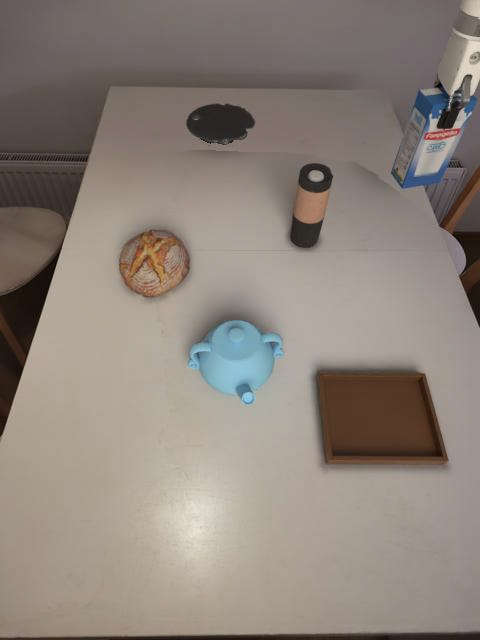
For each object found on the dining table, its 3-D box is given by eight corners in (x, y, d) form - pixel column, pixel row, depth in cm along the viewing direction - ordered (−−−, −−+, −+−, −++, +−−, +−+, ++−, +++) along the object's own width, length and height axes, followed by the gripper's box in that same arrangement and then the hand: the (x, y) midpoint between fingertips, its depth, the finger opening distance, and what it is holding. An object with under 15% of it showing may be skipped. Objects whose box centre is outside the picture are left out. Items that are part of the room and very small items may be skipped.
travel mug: (283, 240, 111) (292, 175, 94) (298, 224, 114) (309, 158, 98) (309, 253, 108) (323, 188, 92) (324, 235, 112) (339, 170, 96)
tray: (420, 378, 89) (425, 373, 87) (443, 465, 79) (448, 461, 77) (316, 378, 89) (318, 372, 87) (325, 464, 79) (328, 460, 77)
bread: (120, 305, 100) (107, 277, 91) (127, 243, 111) (116, 213, 102) (190, 299, 100) (183, 271, 91) (190, 238, 111) (184, 208, 102)
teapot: (274, 329, 95) (279, 295, 85) (296, 414, 84) (305, 386, 74) (185, 342, 93) (179, 307, 83) (195, 430, 82) (190, 403, 72)
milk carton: (401, 188, 101) (433, 105, 85) (390, 173, 105) (418, 89, 88) (440, 182, 103) (478, 99, 86) (427, 167, 106) (462, 84, 90)
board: (172, 133, 137) (170, 118, 133) (223, 108, 146) (223, 93, 141) (217, 165, 128) (217, 150, 124) (269, 137, 137) (270, 121, 133)
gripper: (515, 44, 72) (469, 141, 86) (482, 3, 82) (445, 96, 96) (471, 43, 72) (431, 141, 86) (442, 3, 82) (411, 96, 96)
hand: (439, 117), depth 91 cm, fingers closed on milk carton, 7 cm apart
